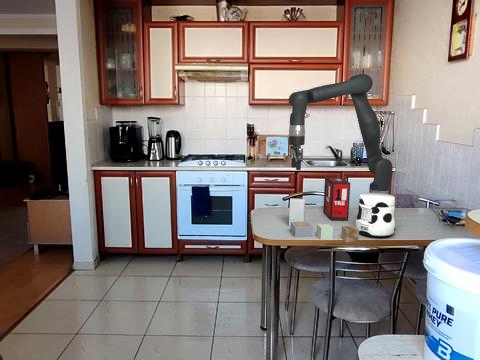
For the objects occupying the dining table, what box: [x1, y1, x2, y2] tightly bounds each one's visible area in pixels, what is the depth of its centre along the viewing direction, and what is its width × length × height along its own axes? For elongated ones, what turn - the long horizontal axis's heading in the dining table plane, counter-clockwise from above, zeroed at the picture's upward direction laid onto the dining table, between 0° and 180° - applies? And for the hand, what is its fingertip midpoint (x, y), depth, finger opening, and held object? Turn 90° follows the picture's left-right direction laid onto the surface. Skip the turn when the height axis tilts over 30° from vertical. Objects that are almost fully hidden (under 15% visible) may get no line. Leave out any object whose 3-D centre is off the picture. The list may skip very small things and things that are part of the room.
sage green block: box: [316, 223, 334, 241], centre depth 176 cm, size 6×6×6 cm
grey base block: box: [290, 221, 314, 238], centre depth 181 cm, size 8×8×5 cm
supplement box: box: [288, 198, 306, 227], centre depth 195 cm, size 7×7×13 cm
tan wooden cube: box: [340, 225, 360, 243], centre depth 173 cm, size 6×6×6 cm
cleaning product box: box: [322, 176, 351, 222], centre depth 210 cm, size 16×9×20 cm, turn 2°
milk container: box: [355, 192, 396, 238], centre depth 181 cm, size 17×17×18 cm
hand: (295, 168), depth 190 cm, fingers open, 8 cm apart
